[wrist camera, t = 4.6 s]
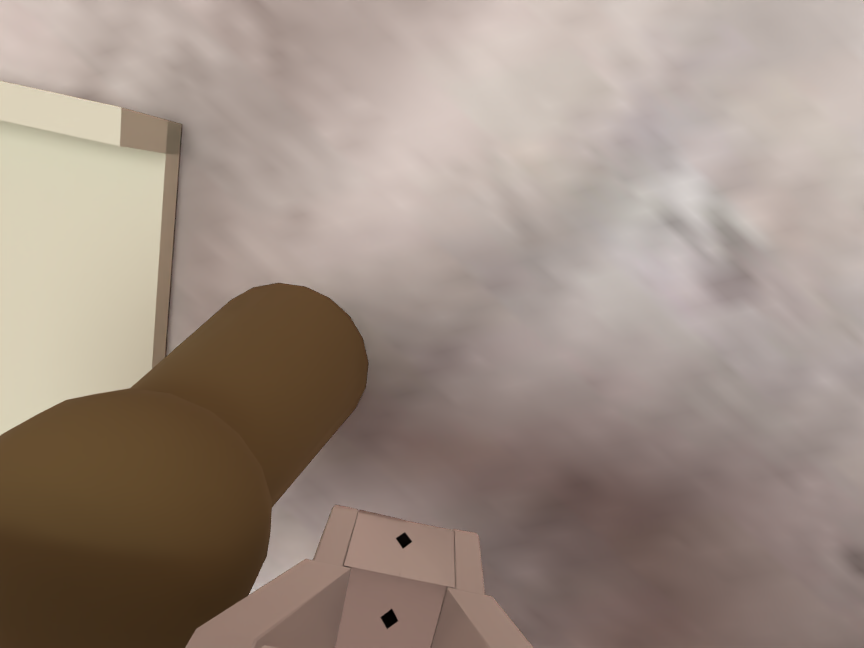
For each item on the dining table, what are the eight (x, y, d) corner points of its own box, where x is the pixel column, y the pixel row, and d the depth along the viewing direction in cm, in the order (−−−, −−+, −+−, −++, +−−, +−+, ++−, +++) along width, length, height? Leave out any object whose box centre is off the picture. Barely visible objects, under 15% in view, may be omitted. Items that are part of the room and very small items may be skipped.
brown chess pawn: (221, 261, 17) (-164, 369, 6) (387, 311, 17) (284, 495, 7) (193, 413, 18) (-155, 705, 8) (346, 456, 19) (209, 797, 8)
